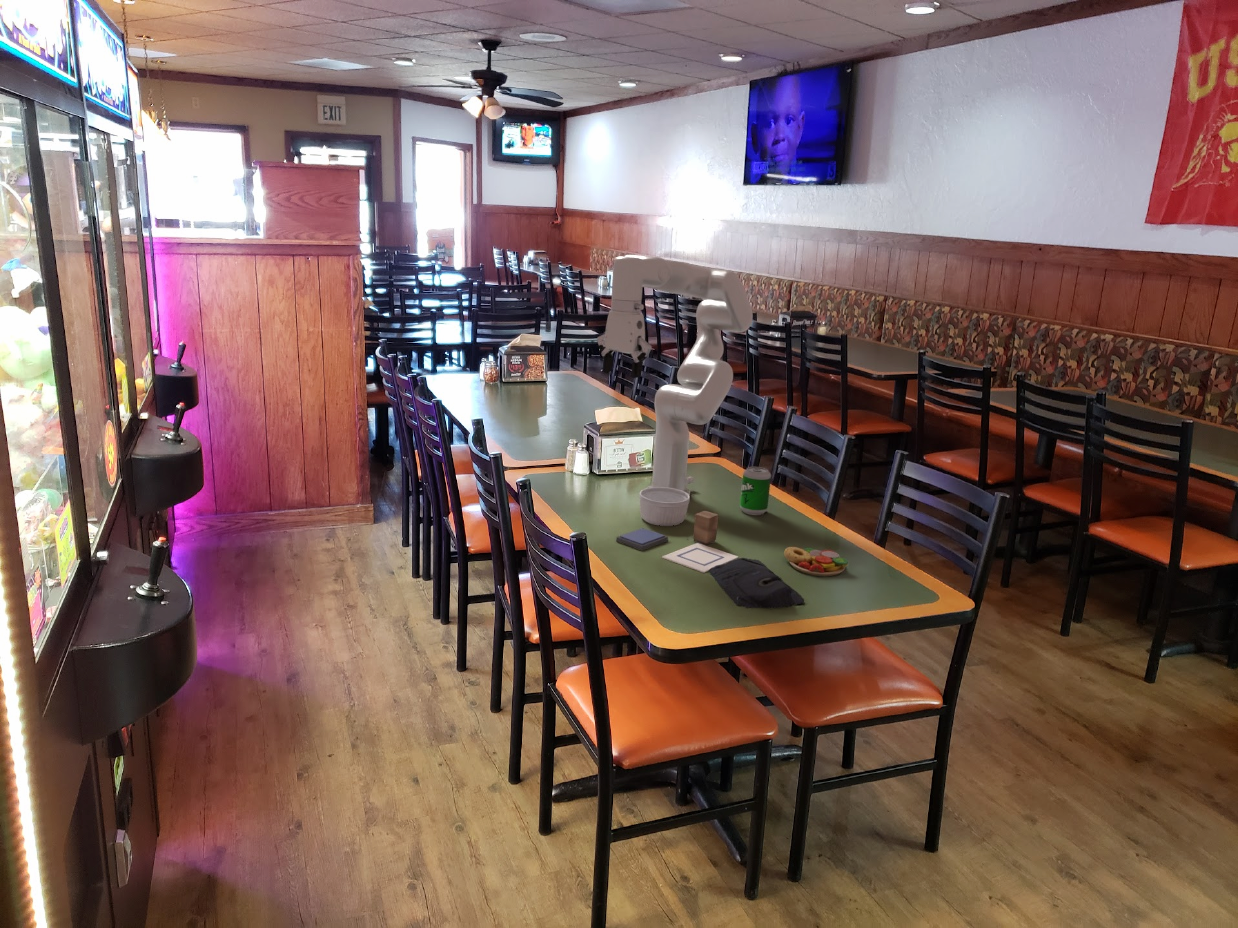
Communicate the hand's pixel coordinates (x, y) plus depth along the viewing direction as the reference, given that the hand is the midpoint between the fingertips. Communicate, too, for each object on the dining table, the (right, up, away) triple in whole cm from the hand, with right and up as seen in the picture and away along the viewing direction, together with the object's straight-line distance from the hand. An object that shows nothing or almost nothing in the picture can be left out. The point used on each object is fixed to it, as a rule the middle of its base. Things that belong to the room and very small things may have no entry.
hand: (621, 374), depth 227 cm
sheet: (+18, -45, -20) cm, 52 cm away
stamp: (+20, -42, -9) cm, 47 cm away
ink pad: (+5, -42, -12) cm, 44 cm away
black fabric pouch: (+29, -50, -35) cm, 67 cm away
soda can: (+36, -36, +16) cm, 54 cm away
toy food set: (+45, -47, -20) cm, 68 cm away
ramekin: (+11, -38, +5) cm, 40 cm away
